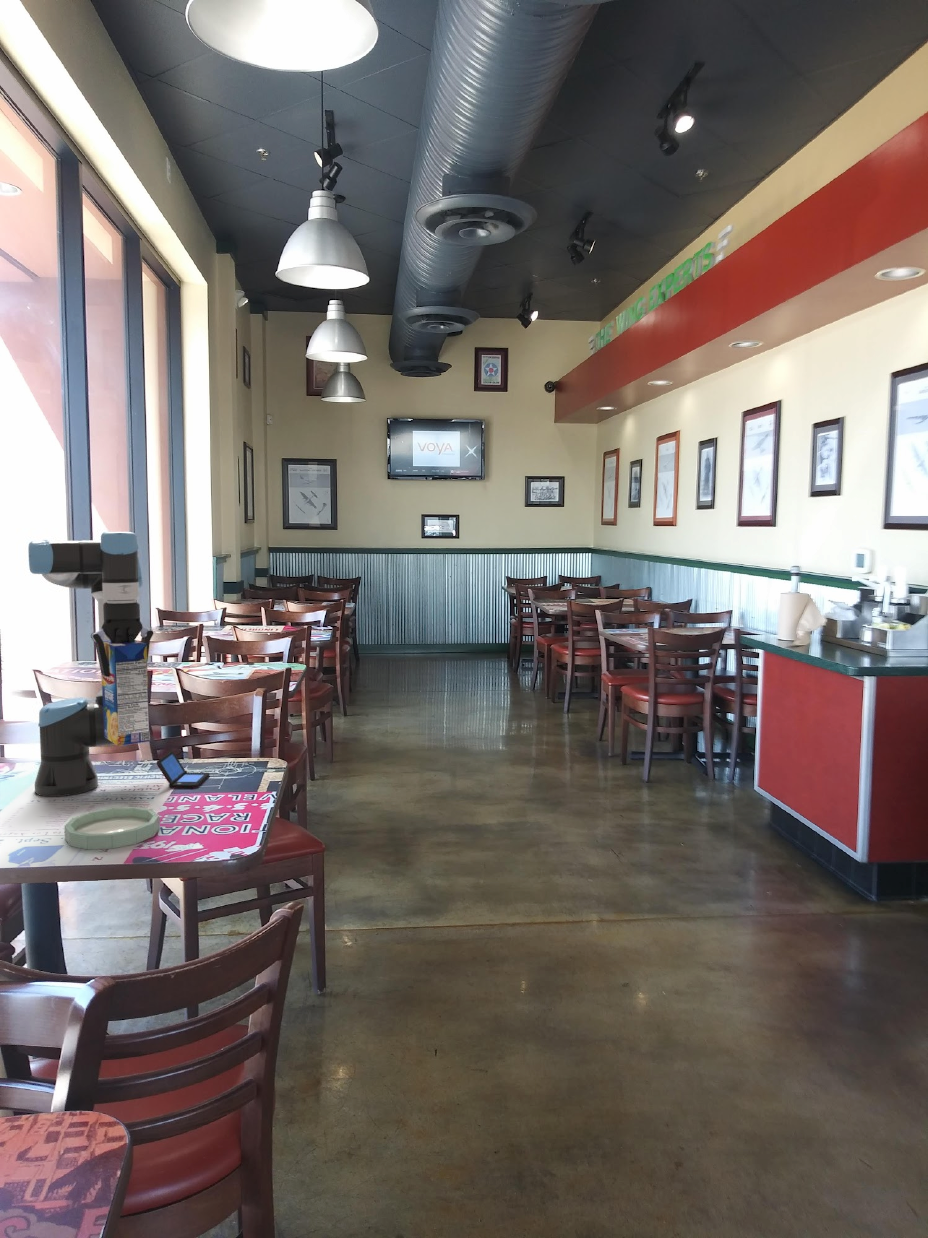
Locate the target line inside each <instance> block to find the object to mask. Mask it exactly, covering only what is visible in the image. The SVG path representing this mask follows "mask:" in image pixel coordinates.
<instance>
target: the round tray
mask: <svg viewBox="0 0 928 1238" xmlns="http://www.w3.org/2000/svg"><path fill="white" fill-rule="evenodd" d="M160 825H161V824H160V815H159V814H158V813H157V812H156V811H155V810H154V809H152V808H145V807H141V806H140V807H139V806H119V807H117V806H116V807H115V806H114V807H108V808H104V809H97V810H91V811H88V812H85V813H83V814H80V815H78V816H75V817H72V818H71V819H70V820H69V821H68V822H67V823H66V824H64V840H65V841H66V842H68V843H67V844H68V845H69V846H70V847H73V848H78V849H84V850H107V849H108V850H109V849H117V848H121V847H122V848H123V847H126V846H132V845H137V844H139V843H141V842H143V841H145V840H146V841H147V840H148V839H150V838H153V837H155V835H156V834H157V833H158V831H159V830H160V827H161V826H160Z"/></svg>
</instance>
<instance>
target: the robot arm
mask: <svg viewBox="0 0 928 1238" xmlns="http://www.w3.org/2000/svg"><path fill="white" fill-rule="evenodd" d="M137 537H138V536H137V535H136V533H134V532H132V531H131V532H130V531H105V532H102V533H101V535H100V540H48V539H43V540H33V541H30V542H29V543H28V567H29V572H30V573H31V574H33V575H42V578H44V579H45V580H46V581H48V582H49V583H51V584H53V585H56V586H60V587H65V588H68V589H69V588H70V589H77V590H78V589H79V590H81V589H82V590H83V589H84V590H85V589H90V592H91V594H90V595H91V597H92V598H93V599H95V600H96V601H97V609H98V610H97V611H98V613H97V614H98V631H96V632H92V633H90V637H91V639H92V641H93V643H94V644H95V650H96V653H97V658H98V659H97V660H98V665H99V669H100V677H101V678H100V679H101V681H100V682H101V683H102V675H104V676H106V677H109V675H110V671H109V666H108V661H107V656H106V651H105V647H104V643H103V641H111V643H115V644H121V643H135V640H136V639H137V637H138V636H139V634H140V637H141V640H140V642H143V643H146V644H147V662H148V659H149V651H150V644H151V643H150V642H151V639H152V637H153V636H154V633H155V632H154V631H153V630H151V629H149V628H148V629H147V628H145V627H144V625H143V623H142V622H141V613H140V612H141V611H140V610H141V607H140V603H139V601H138V600H139V599H140V588H142V587H143V577H142V570H141V563H140V560H139V559H140V558H139V552H138V550H139V545H138V538H137ZM95 699H96V700H95V702H90V703H89V701H88V699H87V698H85V697H73V698H72V697H70V698H66V699H61V700H57V701H52V702H50V703H48V704H45V705H43V706H42V707H41V708H40V710H39V712H38V714H39V716H38V727H39V743H40V745H39V746H40V750H39V751H40V764H39V767H38V771H37V774H36V778H35V781H34V792H36V793H37V795H39V794H40V795H39V796H43V795H45V796H44V797H62V796H64V797H65V796H72V795H78V794H83V793H87V792H89V791H92V790H94V789H95V788H96V787H98V785H99V782H98V781H99V780H98V774H97V772H96V769H95V767H94V764H93V763H92V759H91V756H90V748H93V747H95V748H96V747H106V746H107V747H108V746H117V745H116V744H114V743H113V742H111V741H110V740H108V739H107V738H105V737H104V719H103V695H102V688H101V690H100V691H99V692H98V693H97V694H96V695H95ZM36 793H35V794H36Z"/></svg>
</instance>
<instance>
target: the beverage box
mask: <svg viewBox="0 0 928 1238" xmlns="http://www.w3.org/2000/svg"><path fill="white" fill-rule="evenodd" d="M103 643H104V647H105V651H106V656H107V661H108V666H109V671H110V675H109V677H106V676H104V675H102V682H101V689H102V695H103V719H104V737H105V738H107V739H108V740H110V741H111V742H113V743H114V744H116V745H115V746H117V747H121V746H122V747H123V746H127V745H129V746H130V745H135V744H141V743H142V744H143V743H148V742H149V743H150V742H151V734H150V732H151V731H150V729H151V728H150V706H149V705H150V703H149V702H150V701H149V678H148V677H149V676H148V661H147V644H146V643H143V642H141V641H139V640H136V639H135V643H121V644H115V643H111V641H103Z"/></svg>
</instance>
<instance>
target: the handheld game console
mask: <svg viewBox="0 0 928 1238" xmlns="http://www.w3.org/2000/svg"><path fill="white" fill-rule="evenodd" d="M156 765H157V767H158V768H159V770H160V772H161V773H162V775H163V776H164V778H165V779H166V781H167V783H168V788H169V789H197V788H198V787H199V786H201V785H202V784H203V783H204V782H205V781H206V780H207V779H208V778H209V777H210V773H209V772H188V771H187V770H185V768H184V767H183V765H182V763H181V761H180V760H179V758H178V757H177V755H176V754H175V752H174V751H170V752H168V753H167V754H165V755H164V756H162V757H161V758H159V759H158V760H156Z"/></svg>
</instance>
